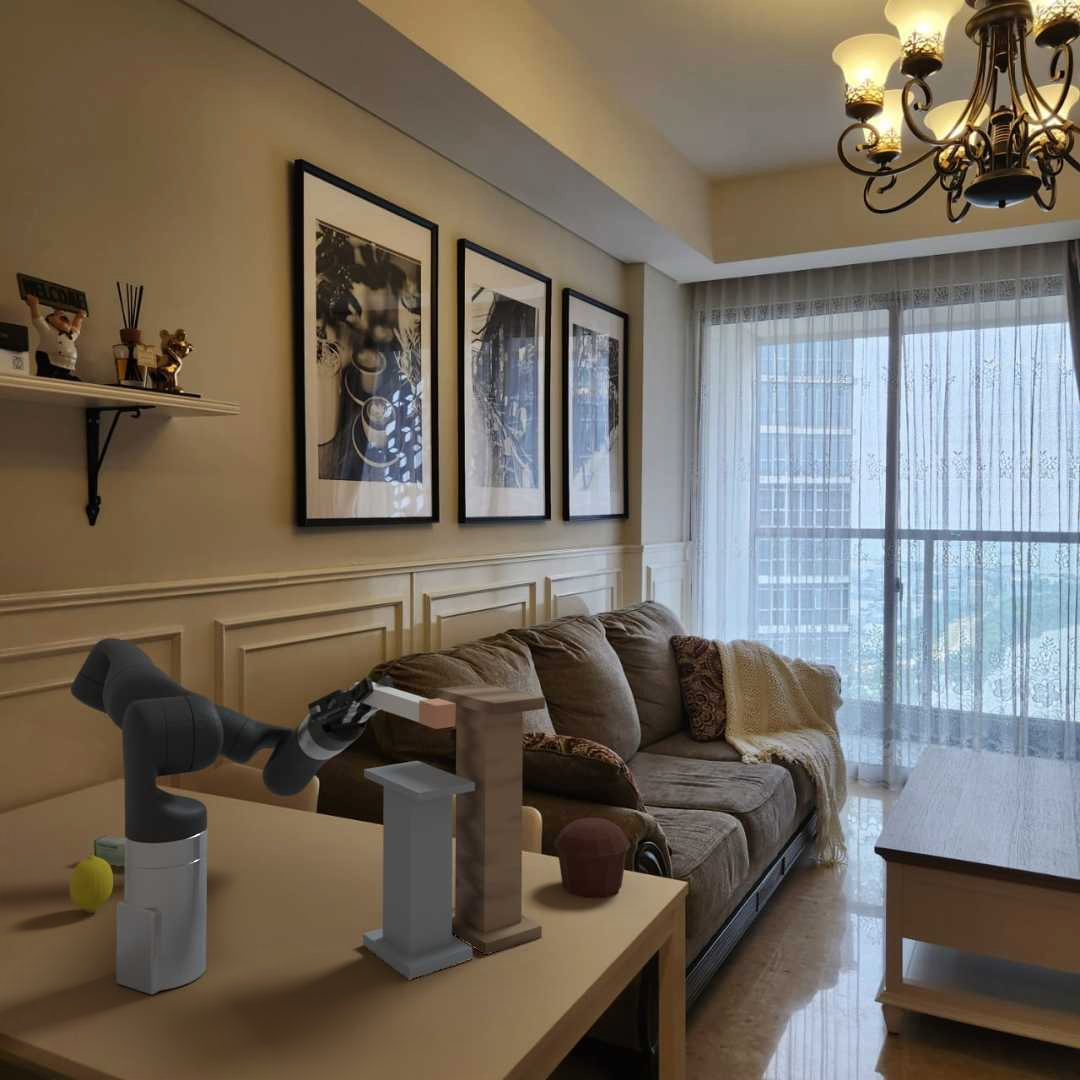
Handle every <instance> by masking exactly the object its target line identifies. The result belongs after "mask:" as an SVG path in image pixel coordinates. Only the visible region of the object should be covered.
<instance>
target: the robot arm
mask: <svg viewBox="0 0 1080 1080" xmlns="http://www.w3.org/2000/svg"><path fill="white" fill-rule="evenodd" d="M359 682H360V683H358V684H357V685H356V686H355V687H354V686H351V687H349V688H347V690H343V689H337V690H335V691H332V692H331V693H329V694H327V695H324V696H322V697H320V698H319V699H316V700H314V701H312V702H310V703H308V705H307V707H308V712H309V713H308V714H307V715H306V716H305V718H304V719H303V721H302V722H301V723H300V724H299V725H298V726H297V727H296V728H293V727H287V726H280V725H274V724H270V723H265V722H261V721H257V720H254V719H252V718H250V717H248V716H247V715H244V714H242V713H240V712H237V711H235V710H233V709H231V708H228V707H226V706H223V705H219V704H215V703H213V702H212V701H211V700H210V699H209V698H208V697H206V696H205V695H203V694H200V693H197V692H193V691H191V690H189V689H187V688H185V687H183V686H182V685H181V684H179V683H177V682H176V681H174V680H173V678H171V676H170V675H168V674H167V673H165V671H163V670H162V669H161V668H159V667H158V666H156V665H155V664H154V662H153V659H152V658H150V656H149V655H148V654H147V653H146V652H145V651H144V650H143V649H141V648H139V646H136V645H135V644H133V643H132V642H129V641H126V640H124V639H120V638H113V637H110V638H109V637H107V638H104V639H101V640H99V641H97V643H95V645H94V646H93V647H92V648H91V650H90V651H89V653H88V655H87V657H86V659H85V661H84V663H83V664H82V665H81V668H80V670H79V671H78V673H77V674H76V677H75V678H74V680H73V682H72V684H71V686H70V693H71V695H72V696H73V697H74V698H75V699H76V700H77V701H79V702H80V703H82V704H84V705H86V706H87V707H90V708H91V709H94V710H96V711H99V712H101V713H104V714H107V715H108V717H109V719H111V721H112V722H113V723H114V725H116V727H117V728H119V729H120V730H121V739H122V742H121V743H122V745H121V746H122V758H123V760H122V761H123V775H124V777H123V778H124V780H123V781H124V838H125V867H124V882H123V883H124V886H123V887H124V896H123V899H124V900H121V901H119V902H118V903H117V905H116V973H115V974H116V980H115V982H116V984H119V985H121V986H125V987H127V988H131V989H134V990H137V991H139V992H143V993H145V994H148V995H155V994H156V993H158V992H160V991H165V990H171V989H175V988H179V987H181V986H185V985H187V984H190V983H191V982H193V981H196V980H197V979H199V978H200V977H201V976H202V975H203V974H204V973H205V971H206V969H207V910H208V909H207V903H208V901H207V900H208V899H207V897H208V896H207V895H208V893H207V891H208V886H207V885H208V884H207V881H208V879H207V878H208V876H207V875H208V809H207V806H206V805H205V804H204V802H202V801H201V800H198V799H196V798H194V797H189V796H184V795H178V794H174V793H170V792H168V791H165V790H163V789H161V788H159V787H158V786H157V778H158V777H163V776H164V777H165V776H173V775H180V774H188V773H193V772H200V771H203V770H205V769H207V768H208V767H210V766H212V765H213V764H214V763H215V762H216V760H217V759H218V758H219V757H220V756H221V757H224V758H226V759H228V760H230V761H232V762H234V763H237V764H241V765H244V764H247V763H249V762H250V761H251V760H252V759H253V757H254V756H256V755H257V754H258V753H259V751H261V750H264V749H266V750H267V749H270V750H271V749H273V750H272V752H271V755H270V756H269V758H268V760H267V761H266V763H265V765H264V768H263V770H262V773H261V774H262V776H261V777H262V781H263V784H264V787H266V789H267V790H268V791H269V792H270V793H272V794H274V795H276V796H279V797H284V798H285V797H292V796H296V795H298V794H299V793H301V792H303V790H304V789H305V788H306V787H307V786H308V785H309V783H310V782H311V781H312V779H313V778H314V777H315V776H316V775H317V772H318V771H319V770H320V768H322V767H323V765H324V764H326V763H328V761H329V760H330V759H332V758H333V757H335V756H337V755H338V754H341V752H342V751H344V750H345V749H346V748H347V747H349V746H350V745H351V744H352V743H354V742H355V741H356V740H357V739H358V738H360V736H361V735H362V734H363V732H364V731H365V728H366V725H367V722H368V720H369V719H370V718H371V717H375V716H376V714H377V711H380V710H382V709H379V708H376V707H373V706H370V705H368V704H365V703H362V701H364V700H365V699H366V698H367V697H368V696H369V695H370V694H371V693H372V692H373V685H372V682H373V681H372V678H371V677H369V676H368V677H364V678H363V679H362V680H361V681H359ZM376 683H377V684H380V685H383V686H387V687H391V688H394V689H395V687H394V683H393V679H392V677H391V676H390V675H383V676H382V677H381V678H380V679H378V680H377V681H376ZM383 712H386V713H387V714H388V713H391V712H388V711H385V710H383ZM391 714H392V713H391Z"/></svg>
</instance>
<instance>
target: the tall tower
mask: <svg viewBox="0 0 1080 1080" xmlns="http://www.w3.org/2000/svg"><path fill="white" fill-rule="evenodd" d="M437 698H439V699H442V700H446V701H449V702H452V703H456V718H455V727H456V731H455V733H456V739H455V740H456V742H455V743H456V744H455V748H456V749H455V750H456V751H455V755H456V756H455V757H456V758H455V759H456V760H455V770H456V771H455V775H456V776H459V777H462V778H464V779H467V780H469V781H472V782H475V791H470V792H465V793H460V794H455V858H454V859H455V860H454V861H455V868H454V869H455V870H454V871H455V873H454V877H455V878H454V879H455V881H454V883H455V885H454V893H455V894H454V895H455V897H454V898H455V899H454V907H452V935H453V934H454V935H456V936H458V937H459V938H461V939H463V940H464V941H466V942H468V943H470V944H471V945H472V946H474V947H476V948H477V949H479V950H480V951H482V952H483V953H485V954H488V953H490V952H494V953H497V952H496V951H498V952H500V951H503V950H506V949H510V948H512V947H516V946H519V945H522V944H524V943H528V942H531V941H534V940H537V939H541V938H542V935H543V933H542V930H543V927H542V925H541V924H539V923H538V922H536V921H534V920H532V919H530V918H528V917H527V916H525V915H523V914H522V904H523V903H522V898H523V897H522V895H523V894H522V892H523V891H522V890H523V889H522V888H523V886H522V885H523V883H522V880H523V878H522V877H523V876H522V874H523V873H522V872H523V871H522V870H523V869H522V868H523V865H522V864H523V761H524V760H523V751H524V750H523V749H524V748H523V747H524V745H523V743H524V742H523V741H524V740H523V739H524V738H523V735H524V732H523V731H524V727H523V726H524V712H529V711H537V710H544V709H546V697H545V696H542V695H537V694H533V693H529V692H524V691H519V690H514V689H510V688H507V687H506V688H505V687H501V686H497V685H493V684H489V683H478V684H469V685H468V684H467V685H459V686H450V687H441V688H436V699H437ZM454 935H453V936H454ZM456 936H455V937H456ZM459 938H458V939H459ZM461 939H460V940H461ZM464 941H463V942H464ZM472 946H471V947H472ZM483 953H482V954H483ZM488 955H489V954H488Z"/></svg>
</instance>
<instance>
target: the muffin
mask: <svg viewBox="0 0 1080 1080" xmlns="http://www.w3.org/2000/svg"><path fill="white" fill-rule="evenodd" d="M630 842H631V841H629V839H628V836H627V835H626V833H625V832H624V831H623V830H622V828H621V826H619V825H618V824H616V823H614V822H612V821H610V820H609V819H605V818H600V817H586V818H585V817H584V818H580V819H577V820H574V821H572V822H571V823H569V824H567V825H565V827H564V828H563V829H562V830H561V831H560V832H559V833H558V835H557V836H556V839H555V840H554V841H553V845H554V847H555V849H556V850H557V856H558V857H557V858H558V861H559V869H560V875H561V882H562V883H561V884H562V887H564V889H565V890H566V891H567V890H568V891H567V892H568V893H569V894H570V895H575V896H579V897H582V898H586V899H590V898H607V897H610V896H612V895H616V894H619V892H620V890H621V888H622V886H623V880H624V879H623V878H624V873H625V871H624V870H625V865H626V864H625V863H626V857H627V852H628V851H629V849H630V848H631V846H632V844H631V843H630Z"/></svg>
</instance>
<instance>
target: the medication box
mask: <svg viewBox="0 0 1080 1080" xmlns="http://www.w3.org/2000/svg"><path fill="white" fill-rule="evenodd" d="M93 843H94V844H93V848H94V849H93V851H94V854H93V855H94V856H95V857H98V858H101V859H104V860H105V861H106V862H107V863H108V864H110V866H112V865H116V866H115V867H118V865H119V866H125V837H117V836H111V835H102V836H100V837H98V838H96V839H95V840H94V841H93Z"/></svg>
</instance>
